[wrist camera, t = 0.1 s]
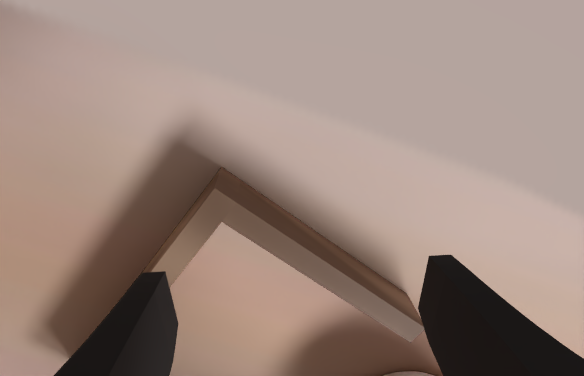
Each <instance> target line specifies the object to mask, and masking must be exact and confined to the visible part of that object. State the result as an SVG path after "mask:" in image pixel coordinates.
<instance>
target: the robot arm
mask: <svg viewBox="0 0 584 376" xmlns="http://www.w3.org/2000/svg"><path fill="white" fill-rule="evenodd" d="M418 309H419V313H420V316H421V319H422V323H423V326H424V329H425V332H426V335H427V339H428V342H429V344H430V347H431V349H432V351H433V353H434V356H435V358H436V360H437V362H438V365H439V367H440V369H441V371H442V374H443V376H584V359H583V358H582V357H580V356H579V355H577V354H576V353H574V352H573V351H571V350H570V349H568V348H567V347H566V346H564V345H563V344H561V343H560V342H559V341H557V340H556V339H554V338H553V337H552V336H550V335H549V334H548V333H546V332H545V331H544V330H542V329H541V328H540V327H538V326H537V325H536V324H534V323H533V322H532V321H530V320H529V319H528V318H526V317H525V316H524V315H523V314H521V313H520V312H519V311H518V310H516V309H515V308H514V307H513V306H511V305H510V304H509V303H508V302H506V301H505V300H504V299H503V298H502V297H500V296H499V295H498V294H497V293H496V292H494V291H493V290H492V289H491V288H490V287H488V286H487V285H486V284H485V283H484V282H483V281H481V280H480V279H479V278H478V277H477V276H475V275H474V274H473V273H472V272H471V271H470V270H468V269H467V268H466V267H465V266H464V265H463V264H461V263H460V262H459V261H458V260H457V259H455V258H454V257H453V256H452V255H438V256H429V259H428V264H427V268H426V273H425V278H424V283H423V287H422V292H421V297H420V301H419V306H418ZM177 329H178V321H177V317H176V312H175V308H174V304H173V300H172V296H171V292H170V288H169V284H168V280H167V276H166V272H165V271H162V272H145V273H142V274H141V275H140V276H139V277H138V278H137V279H136V280H135V282H134V283H133V284H132V285H131V287H130V288H129V289H128V290H127V292H126V293H125V294H124V296H123V297H122V298H121V299H120V301H119V302H118V303H117V304H116V305H115V307H114V308H113V309H112V310H111V312H110V313H109V314H108V315H107V316H106V318H105V319H104V320H103V321H102V322H101V324H100V325H99V326H98V327H97V328H96V329H95V331H94V332H93V333H92V334H91V335H90V336H89V338H88V339H87V340H86V341H85V342H84V343H83V344H82V346H81V347H80V348H79V349H78V350H77V351H76V352H75V353H74V354H73V355H72V356H71V357H70V359H69V360H68V361H67V362H66V363H65V364H64V365H63V366H62V367H61V368H60V369H59V370H58V372H57V373H56V374H55V375H54V376H169V375H170V371H171V367H172V363H173V358H174V351H175V344H176V337H177Z"/></svg>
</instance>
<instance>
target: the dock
mask: <svg viewBox="0 0 584 376" xmlns="http://www.w3.org/2000/svg"><path fill="white" fill-rule="evenodd" d="M221 222H223V223H224V224H226V225H228V226H229V227H231V228H232V229H234V230H235V231H237V232H239V233H240V234H242V235H243V236H245V237H246V238H248V239H249V240H251V241H253V242H254V243H256V244H257V245H259V246H260V247H262V248H263V249H265V250H267V251H268V252H270V253H271V254H273V255H274V256H276V257H278V258H279V259H281V260H282V261H284V262H285V263H287V264H288V265H290V266H292V267H293V268H295V269H296V270H298V271H299V272H301V273H302V274H304V275H306V276H307V277H309V278H310V279H312V280H313V281H315V282H317V283H318V284H320V285H321V286H323V287H324V288H326V289H327V290H329V291H331V292H332V293H334V294H335V295H337V296H338V297H340V298H341V299H343V300H345V301H346V302H348V303H349V304H351V305H352V306H354V307H356V308H357V309H359V310H360V311H362V312H363V313H365V314H366V315H368V316H370V317H371V318H373V319H374V320H376V321H377V322H379V323H380V324H382V325H384V326H385V327H387V328H388V329H390V330H391V331H393V332H395V333H396V334H398V335H399V336H401V337H402V338H404V339H405V340H407V341H409V342H410V343H411V342H412V341H413V340H414V339H415V338H416V337H417V336H418V335H420V334H421V333H422V332H423V331H424V330H425V329H424V326H423V323H422V320H421V319H420V317H419V315H418V313H417V311H416V309H415V307H414V306H413V304H412V302H411V300H410V298H409V296H408V295H407V294H406V293H405V292H403V291H402V290H400V289H399V288H397V287H396V286H394V285H393V284H391V283H390V282H389V281H387V280H386V279H384V278H383V277H381V276H380V275H378V274H377V273H375V272H374V271H373V270H371V269H370V268H368V267H367V266H365V265H364V264H362V263H361V262H359V261H358V260H356V259H355V258H354V257H352V256H351V255H349V254H348V253H346V252H345V251H343V250H342V249H340V248H339V247H338V246H336V245H335V244H333V243H332V242H330V241H329V240H327V239H326V238H324V237H323V236H322V235H320V234H319V233H317V232H316V231H314V230H313V229H311V228H310V227H308V226H307V225H305V224H304V223H303V222H301V221H300V220H298V219H297V218H295V217H294V216H292V215H291V214H289V213H288V212H287V211H285V210H284V209H282V208H281V207H279V206H278V205H276V204H275V203H273V202H272V201H271V200H269V199H268V198H266V197H265V196H263V195H262V194H260V193H259V192H257V191H256V190H254V189H253V188H252V187H250V186H249V185H247V184H246V183H244V182H243V181H241V180H240V179H238V178H237V177H236V176H234V175H233V174H231V173H230V172H228V171H227V170H225V169H224V168H222V167H221V168H220V170H219V171H218V172H217V174H216V175H215V176H214V178H213V179H212V180H211V182H210V183H209V184H208V186H207V187H206V188H205V190H204V191H203V192H202V194H201V195H200V196H199V198H198V199H197V200H196V202H195V203H194V204H193V206H192V207H191V208H190V210H189V211H188V212H187V214H186V215H185V216H184V217H183V219H182V220H181V221H180V223H179V224H178V225H177V227H176V228H175V229H174V231H173V232H172V233H171V235H170V236H169V237H168V239H167V240H166V241H165V243H164V244H163V245H162V247H161V248H160V249H159V251H158V252H157V253H156V255H155V256H154V257H153V259H152V260H151V261H150V263H149V264H148V265H147V267H146V268H145V269H144V271H143V272H142V273H145V272H162V271H165V272H166V276H167V280H168V284H169V288H170V286H171V285H172V284H173V283H174V281H175V280H176V279H177V278H178V276H179V275H180V274H181V273H182V271H183V270H184V269H185V267H186V266H187V265H188V264H189V262H190V261H191V260H192V259H193V257H194V256H195V255H196V254H197V252H198V251H199V250H200V248H201V247H202V246H203V245H204V243H205V242H206V241H207V240H208V238H209V237H210V236H211V235H212V233H213V232H214V231H215V229H216V228H217V227H218V226H219V224H220V223H221ZM142 273H141V274H142Z"/></svg>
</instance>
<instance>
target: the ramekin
mask: <svg viewBox="0 0 584 376" xmlns="http://www.w3.org/2000/svg"><path fill="white" fill-rule="evenodd" d="M383 376H434V375H431V374H428V373H424V372H417V371H403V372H394V373H390V374H386V375H383Z"/></svg>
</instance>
